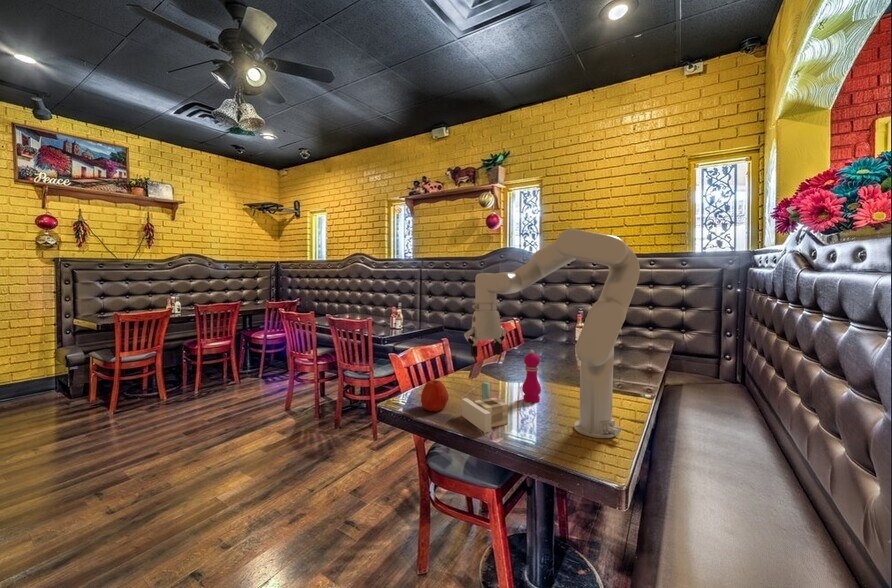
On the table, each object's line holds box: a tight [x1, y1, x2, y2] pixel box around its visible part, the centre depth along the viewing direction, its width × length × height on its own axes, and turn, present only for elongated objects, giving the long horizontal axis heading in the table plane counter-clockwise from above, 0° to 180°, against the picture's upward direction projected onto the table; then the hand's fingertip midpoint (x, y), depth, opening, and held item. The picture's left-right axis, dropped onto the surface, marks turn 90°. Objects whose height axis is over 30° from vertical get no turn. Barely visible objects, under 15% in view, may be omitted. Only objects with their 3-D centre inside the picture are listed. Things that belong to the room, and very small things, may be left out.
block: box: [473, 397, 509, 428], centre depth 124 cm, size 8×8×6 cm
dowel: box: [481, 381, 491, 400], centre depth 135 cm, size 3×3×10 cm
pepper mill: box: [521, 349, 542, 404], centre depth 146 cm, size 7×7×20 cm
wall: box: [461, 397, 492, 434], centre depth 123 cm, size 16×2×6 cm, turn 25°
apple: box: [420, 379, 449, 412], centre depth 137 cm, size 10×10×10 cm
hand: (485, 355), depth 134 cm, fingers open, 9 cm apart
